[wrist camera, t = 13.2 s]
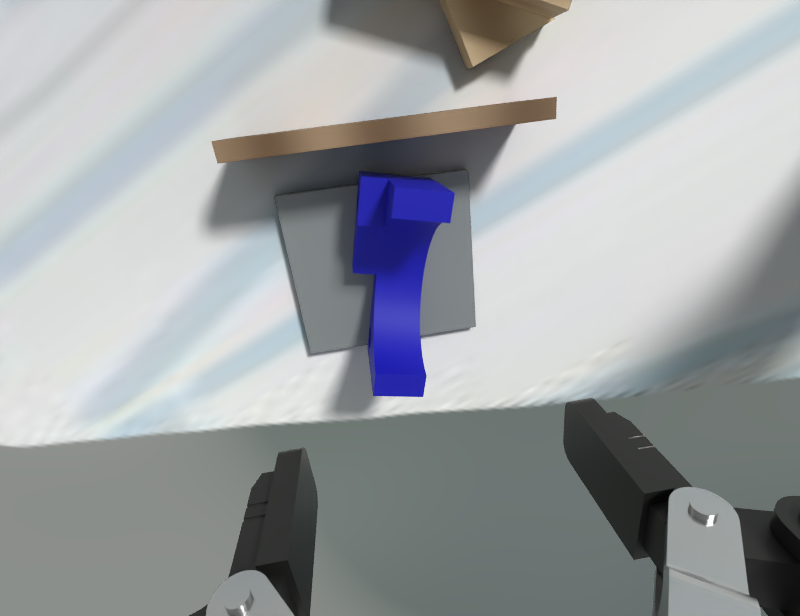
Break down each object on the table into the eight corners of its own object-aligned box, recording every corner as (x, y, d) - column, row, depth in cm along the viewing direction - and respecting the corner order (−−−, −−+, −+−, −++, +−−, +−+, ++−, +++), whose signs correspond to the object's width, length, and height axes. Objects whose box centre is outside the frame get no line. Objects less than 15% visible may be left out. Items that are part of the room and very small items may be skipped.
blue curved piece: (358, 170, 26) (363, 184, 20) (431, 178, 26) (455, 193, 21) (346, 346, 30) (347, 395, 25) (408, 348, 31) (422, 396, 26)
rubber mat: (465, 169, 27) (468, 169, 27) (473, 323, 32) (475, 326, 31) (275, 195, 26) (274, 196, 26) (311, 349, 31) (310, 353, 30)
